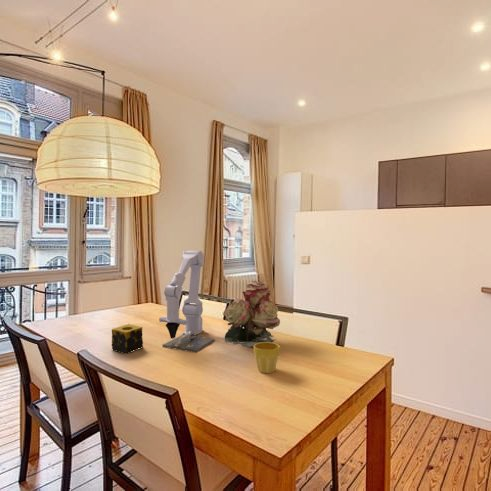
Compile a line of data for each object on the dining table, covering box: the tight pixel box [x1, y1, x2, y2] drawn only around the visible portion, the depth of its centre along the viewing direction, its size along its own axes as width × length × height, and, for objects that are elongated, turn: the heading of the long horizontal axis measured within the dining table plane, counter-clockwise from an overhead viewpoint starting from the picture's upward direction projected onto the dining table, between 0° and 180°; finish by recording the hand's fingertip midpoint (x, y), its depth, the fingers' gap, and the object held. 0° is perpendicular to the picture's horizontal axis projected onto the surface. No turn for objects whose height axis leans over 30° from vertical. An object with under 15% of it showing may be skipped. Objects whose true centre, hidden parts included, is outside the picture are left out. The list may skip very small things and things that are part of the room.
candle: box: [111, 323, 144, 354], centre depth 164 cm, size 10×10×10 cm
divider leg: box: [178, 331, 195, 345], centre depth 172 cm, size 14×3×3 cm, turn 163°
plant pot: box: [253, 342, 281, 374], centre depth 140 cm, size 10×10×10 cm
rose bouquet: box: [222, 280, 281, 348], centre depth 177 cm, size 26×29×30 cm
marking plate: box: [162, 334, 215, 353], centre depth 172 cm, size 18×18×2 cm
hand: (172, 337), depth 171 cm, fingers closed
